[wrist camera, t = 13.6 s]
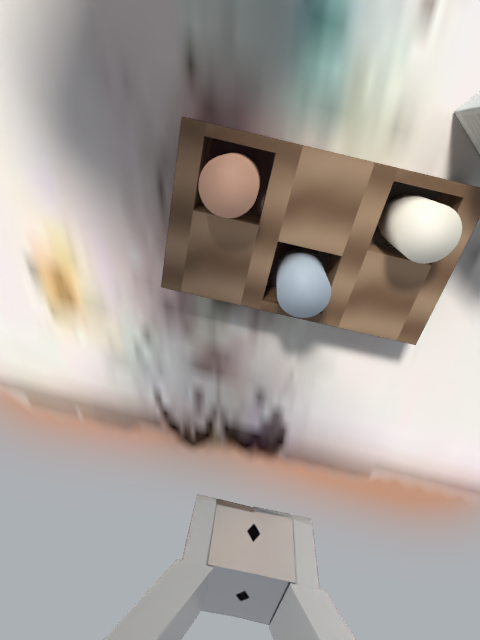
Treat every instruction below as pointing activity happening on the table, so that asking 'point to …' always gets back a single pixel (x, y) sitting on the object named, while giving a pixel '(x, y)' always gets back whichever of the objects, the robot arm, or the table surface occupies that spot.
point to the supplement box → (471, 119)
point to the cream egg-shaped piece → (420, 228)
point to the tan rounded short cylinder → (229, 184)
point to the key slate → (302, 284)
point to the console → (309, 234)
